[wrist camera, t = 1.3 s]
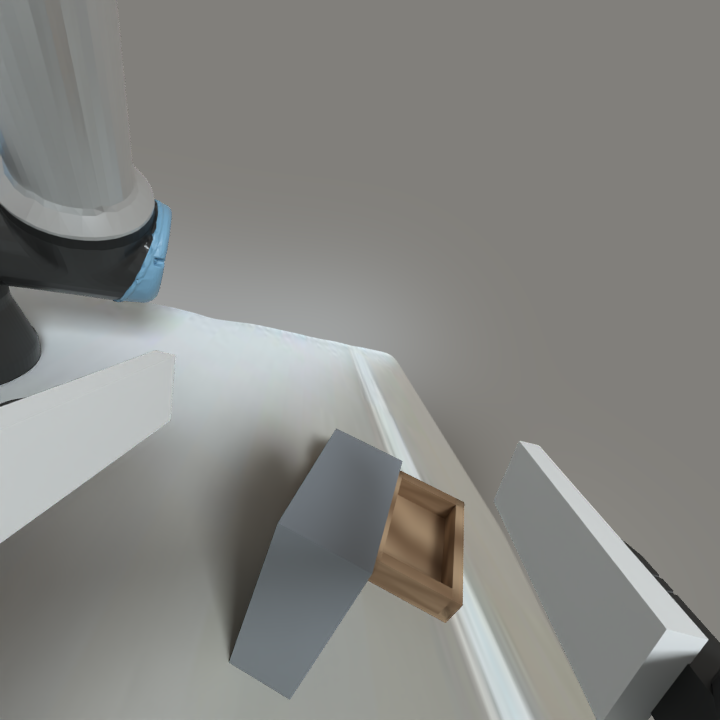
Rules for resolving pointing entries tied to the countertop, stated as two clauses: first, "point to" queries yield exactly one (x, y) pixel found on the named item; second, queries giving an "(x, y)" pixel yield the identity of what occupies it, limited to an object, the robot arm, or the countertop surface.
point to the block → (316, 562)
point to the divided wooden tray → (422, 548)
